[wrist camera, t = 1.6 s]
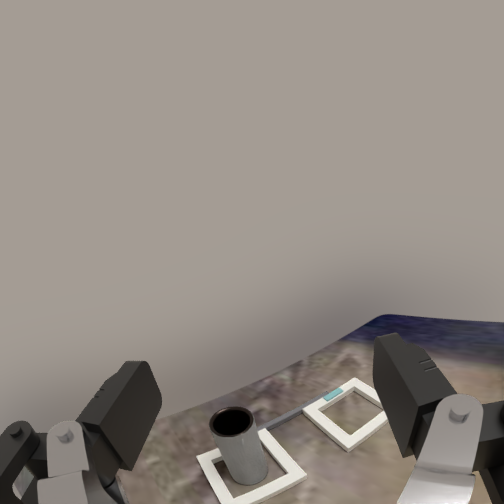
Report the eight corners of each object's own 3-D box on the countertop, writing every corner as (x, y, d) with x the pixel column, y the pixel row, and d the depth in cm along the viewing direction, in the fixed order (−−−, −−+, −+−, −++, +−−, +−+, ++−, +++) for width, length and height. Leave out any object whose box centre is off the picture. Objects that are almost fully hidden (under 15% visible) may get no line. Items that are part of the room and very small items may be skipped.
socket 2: (354, 381, 40) (354, 375, 40) (401, 410, 31) (402, 404, 31) (302, 413, 36) (302, 407, 36) (348, 452, 27) (348, 447, 27)
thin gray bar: (326, 394, 39) (326, 390, 39) (329, 397, 38) (329, 393, 38) (230, 442, 33) (229, 439, 32) (232, 446, 32) (231, 443, 32)
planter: (267, 485, 25) (251, 436, 22) (228, 485, 25) (204, 436, 23) (269, 457, 29) (255, 404, 27) (233, 458, 30) (213, 406, 27)
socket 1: (266, 432, 34) (264, 426, 33) (307, 478, 25) (307, 473, 25) (198, 460, 30) (195, 455, 29) (228, 515, 21) (225, 511, 21)
